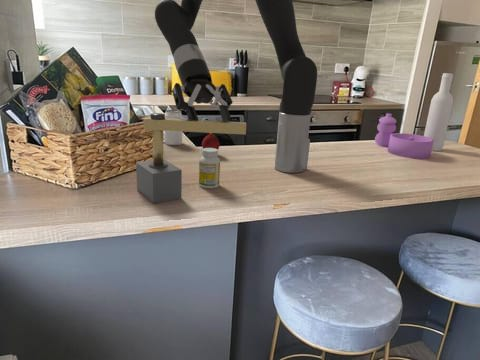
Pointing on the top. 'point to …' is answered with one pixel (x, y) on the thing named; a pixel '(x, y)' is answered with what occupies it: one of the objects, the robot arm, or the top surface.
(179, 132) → the can
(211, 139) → the red apple
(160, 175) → the block
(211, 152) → the supplement bottle
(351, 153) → the top surface
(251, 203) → the top surface
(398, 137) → the container set
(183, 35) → the robot arm
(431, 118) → the bottle
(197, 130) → the tan latch lever
